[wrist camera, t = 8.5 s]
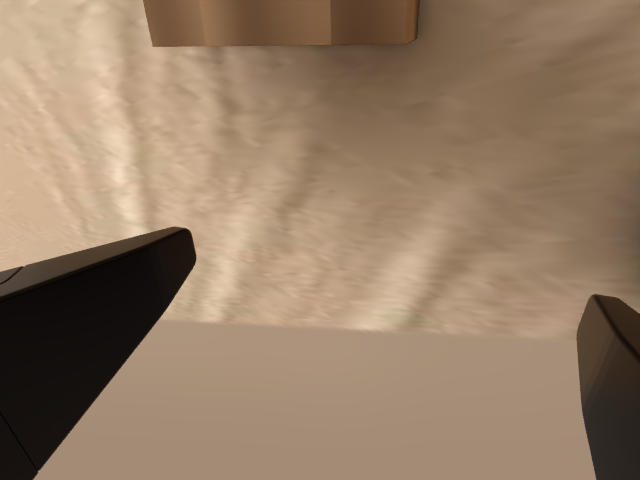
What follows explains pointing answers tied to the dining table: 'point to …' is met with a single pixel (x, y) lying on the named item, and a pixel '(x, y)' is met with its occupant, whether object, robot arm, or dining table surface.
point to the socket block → (281, 22)
